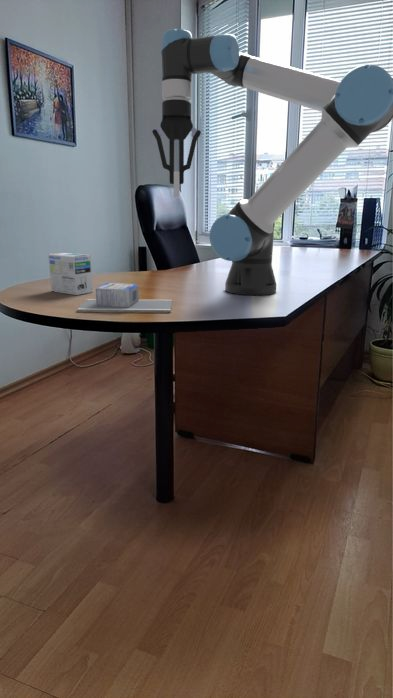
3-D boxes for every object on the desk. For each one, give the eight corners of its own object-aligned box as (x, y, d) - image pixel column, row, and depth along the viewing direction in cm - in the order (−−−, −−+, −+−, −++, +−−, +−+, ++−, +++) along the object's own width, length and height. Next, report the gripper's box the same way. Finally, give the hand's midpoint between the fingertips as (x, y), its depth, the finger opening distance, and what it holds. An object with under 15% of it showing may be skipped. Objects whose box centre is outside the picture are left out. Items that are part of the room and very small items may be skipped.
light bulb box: (94, 292, 137) (92, 254, 134) (76, 295, 132) (74, 256, 128) (67, 288, 142) (65, 251, 139) (50, 291, 137) (47, 253, 134)
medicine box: (129, 289, 114) (95, 287, 115) (129, 308, 115) (95, 305, 116) (138, 284, 121) (106, 282, 122) (139, 301, 122) (106, 299, 124)
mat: (171, 302, 124) (171, 299, 124) (170, 312, 113) (170, 309, 113) (87, 301, 124) (87, 299, 124) (77, 312, 112) (77, 309, 112)
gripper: (201, 104, 127) (200, 197, 134) (152, 103, 126) (153, 196, 133) (202, 98, 120) (200, 197, 127) (150, 97, 119) (151, 196, 126)
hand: (176, 196), depth 130 cm, fingers closed
